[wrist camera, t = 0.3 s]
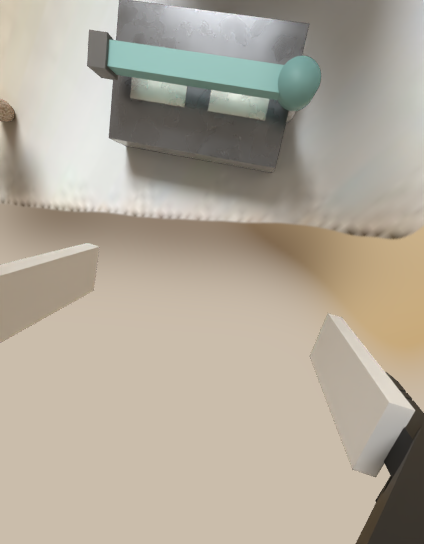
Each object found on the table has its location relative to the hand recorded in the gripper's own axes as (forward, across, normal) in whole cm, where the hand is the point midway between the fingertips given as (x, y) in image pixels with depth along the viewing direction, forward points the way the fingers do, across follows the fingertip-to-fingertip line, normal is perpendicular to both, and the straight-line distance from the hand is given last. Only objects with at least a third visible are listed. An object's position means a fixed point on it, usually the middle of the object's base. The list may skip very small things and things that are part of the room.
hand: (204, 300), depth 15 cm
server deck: (+27, -9, +17) cm, 33 cm away
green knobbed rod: (+20, -8, +17) cm, 27 cm away
